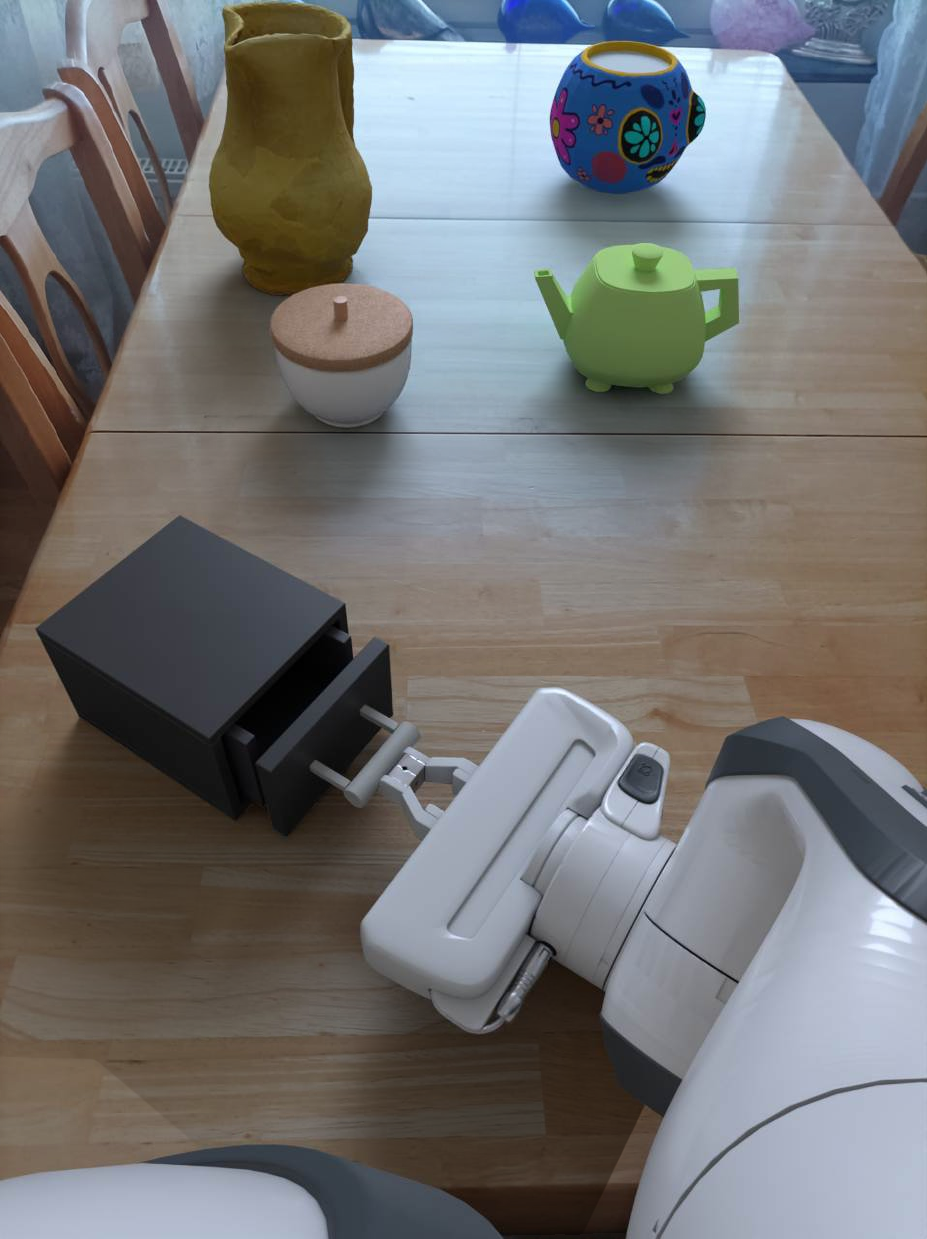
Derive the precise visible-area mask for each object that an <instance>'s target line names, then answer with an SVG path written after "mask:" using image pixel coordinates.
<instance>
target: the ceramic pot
mask: <svg viewBox="0 0 927 1239" xmlns="http://www.w3.org/2000/svg"><path fill="white" fill-rule="evenodd" d="M551 103H552V104H551V107H550V113H549V131H550V138H551V140H552V145H553V147H554V152H555V154H556V157H557V159H558V162H559V164H560V167H561V169H563V171H564V172H565V173H566V174H567V175H568V176H569V178H571V179H572V180H574V181H576V182H577V183H578V184H580V185H582V186H583V187H586V188H588V189H591V190H593V191H596V192H599V193H603V194H609V195H625V194H631V193H636V192H640V191H644V190H646V189H649V188H652V187H653V186H656V185H657V184H659V183H661V182H662V181H663V180H664V179H665V178H666V177H667V176H668V175H669V173H670V172H671V171H672V170H673V169H674V167H675V166H676V165H677V163H678V162H679V160H681V157H682V155H683V153H684V152H685V150H686V149H687V147H688V146H689V145H690V144H691V143H693V142H694V141H695V140H696V139H697V138H698V137H699V136H700V134H701V133H702V131H703V129H704V127H705V122H706V117H707V107H706V104H705V102H704V100H703V99H702V98H701V96H700V95H699V94H697V93H696V92H695V90H694V89H693V87H692V83H691V81H690V78H689V75H688V73H687V70H686V69H685V68H684V66H683V64H682V63H681V62H680V60H679V58H678V57H677V56H676V55H674V53H672V52H670V51H668V50H667V49H665V48H662V47H660V46H657V45H654V44H650V43H646V42H639V41H631V40H612V41H602V42H599V43H595V44H592V45H590V46H587V47H586V48H585V49H583V50H581V52H580V53H578V54H577V55H576V56H574V58H573V59H572V60H571V61H570V63H569V64H568V65H567V67H566V69H565V70H564V72H563V73H562V75H561V79H560V81H559V83H558V85H557V87H556V90H555V93H554V97H553V99H552V102H551Z"/></svg>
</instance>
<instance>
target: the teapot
mask: <svg viewBox="0 0 927 1239" xmlns="http://www.w3.org/2000/svg"><path fill="white" fill-rule="evenodd" d="M533 274H534V279H535V282H536V284H537V287H538V289H539V292H540V294H541V297H542V298H543V301H544V304H545V305H546V308H547V311H548V313H549V315H550V317H551V320H552V322H553V325H554V327H555V329H556V332H557V334H558V336H559V339H560V340H563V345H564V349H565V351H566V353H567V355H568V357H569V360H570V361H571V363H572V364H573V366H574V367H575V369H576V370H577V371H578V372H579V373H580V374H581V375H582V376H584V377H586V378H587V380H586V381H585V385H586V387H587V388H588V389H589V390H591V391H592V392H593V391H594V392H596V393H604V392H607V391H609V390H611V389H612V385H613V386H618V387H626V388H627V387H628V388H648V389H649V390H650V391H652V392H654V393H656V394H660V395H661V394H662V395H664V394H669V393H671V392H672V391H673V390H674V385H673V384H674V383H676V382H679V381H681V380H682V379H683V378H685V377H687V376H688V375H690V373H691V372H693V371H694V370H695V369H696V368H697V367H698V366H699V364H700V363H701V361H702V359H703V356H704V351H705V344H706V342H707V341H710V340H711V339H713V338H715V337H717V336H719V335H721V334H723V333H724V332H725V331H728V330H729V329H731V328H733V327H736V326H737V325H738V324H740V298H739V297H740V296H739V294H740V293H739V291H740V290H739V289H740V288H739V276H738V271H737V268H736V267H723V268H705V269H704V268H703V269H695V268H694V265H693V264H692V261H691V260H690V258H688V256H687V255H685V254H684V253H682V252H681V251H678V250H676V249H674V248H671V247H666V246H665V247H664V246H660V245H657V244H654V243H651V242H640V243H637V244H619V245H612V246H608V247H605V248H603V249H601V250H599V251H597V252H596V253H595V254H594V256H593V257H592V258H591V260H590V261H589V262H588V264H587V265H586V266H585V268H584V269H583V271H582V273H581V274H580V276H579V277H578V279H577V280H576V282H575V284H574V285H573V288H572V290H571V292H570V295H567V294H566V292H565V290H563V288H562V286H561V285H560V283H559V281H558V280H557V278H556V277H555V275H554V274H553V272H552V268H544V269H535V270H533ZM716 290H719V294H718V305H715V306H714V307H712V308H710V309H708V310H705V303H704V299H703V294H702V292H709V291H716Z"/></svg>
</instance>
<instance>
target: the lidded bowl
mask: <svg viewBox="0 0 927 1239" xmlns="http://www.w3.org/2000/svg"><path fill="white" fill-rule="evenodd" d="M413 318H414V317H413V314H412V312H411V311H410V309H409V307H408V306H407V305H406V304H405V303H404V301H402V299H401V298H399V297H398V296H396V295H394V293H391V292H390V291H387V290H384V289H382V288H380V287H379V288H378V287H375V286H371V285H366V284H360V283H344V282H339V283H338V284H328V285H321V286H317V287H312V288H309V289H306V290H303V291H301V292H298V293H296V294H292V295H290V296H289V297H287V298H286V299H284V300H283V301H282V302H281V303H280V304H278V306H277V307H276V308H275V309H274V311H273V313H272V315H271V317H270V321H269V331H270V338H271V340H272V343H273V347H274V353H275V358H276V363H277V366H278V370H279V373H280V376H281V378H282V380H283V383H284V386H285V387H286V389H287V390H288V392H289V393H290V395H291V397H292V398H293V400H294V401H295V402H296V403H298V404H299V406H300V407H301V408H303V409H304V410H305V411H307V412H308V413H309V414H311V415H312V416H314V417H315V418H316V419H317V420H319V421H320V422H322V423H324V424H326V425H329V426H332V427H336V428H348V429H349V428H357V427H363V426H366V425H368V424H371V423H373V422H374V421H376V420H378V419H379V418H380V417H381V416H382V415H383V414H384V412H385V411H387V410H388V409H389V408H390V407H392V405H393V404H394V403H395V402H396V401H397V399H398V398H399V397H400V395H401V393H402V392H403V389H404V388H405V386H406V383H407V380H408V377H409V373H410V369H411V361H412V348H413V347H412V346H413V345H412V344H413V334H414V319H413Z"/></svg>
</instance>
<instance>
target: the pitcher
mask: <svg viewBox="0 0 927 1239" xmlns="http://www.w3.org/2000/svg"><path fill="white" fill-rule="evenodd" d="M221 16H222V20H223V24H224V41H225V42H224V44H223V52H224V55H225V56H224V68H225V86H226V92H227V96H226V112H225V121H224V124H223V131H222V134H221V138H220V141H219V145H218V147H217V148H216V151H215V154H214V156H213V158H212V162H211V166H210V170H209V175H208V190H209V196H210V207H211V211H212V212H211V213H212V217H213V221H214V223H215V227H217V229H218V230H219V232H220V233H221V234H222V236H223V237H224V238H225V239H227V240H228V242H230V243H231V244H232V245H234V246H235V247H236V248H237V250H238V253H239V256H240V257H241V258H242V260H243V262H242V264H241V267H242V271H241V272H242V273H243V274H244V276H245V279H246V281H247V283H248V284H250V285H251V286H252V287H254V288H256V290H259V291H261V292H263V293H267V294H270V295H271V296H275V295H276V296H283V295H285V296H286V295H290V296H292V295H294V294H296V293H298V292H301V291H303V290H306V289H309V288H312V287H317V286H321V285H328V284H339V283H344V281H346V279H348V278H349V277H350V276H351V275H350V274H351V273H352V270H353V269H354V268H353V263H354V259H353V256H354V255H356V254H357V253H358V251H359V249H360V248H361V245H362V243H363V241H364V239H365V237H366V235H367V234H368V231H369V219H370V214H371V207H372V202H373V186H372V182H371V180H370V175H369V172H368V168H367V166H366V163H365V161H364V159H363V157H362V155H361V153H360V151H359V149H358V148H357V146H356V142H355V138H354V126H355V106H354V105H355V96H354V94H355V93H354V92H355V90H354V82H355V65H354V59H353V46H354V45H353V44H354V42H353V33H352V27H351V23H350V22H349V20H348V19H347V17H346V16H345V15H343V14H340V13H339V12H335V11H333V10H331V9H328V8H326V7H324V6H321V5H316V4H311V3H307V2H297V1H283V0H268V1H260V0H259V1H258V0H257V1H251V2H241V3H236V4H231V5H229V4H228V5H224V6H222V13H221ZM349 279H350V278H349Z"/></svg>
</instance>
